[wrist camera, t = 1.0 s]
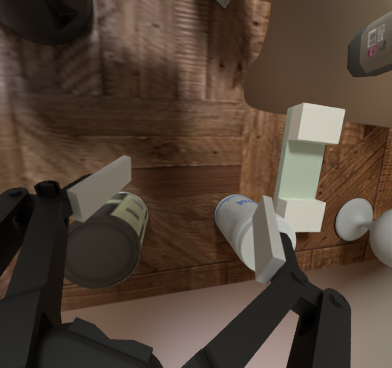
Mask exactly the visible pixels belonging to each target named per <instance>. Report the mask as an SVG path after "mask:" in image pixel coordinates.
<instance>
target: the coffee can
mask: <svg viewBox="0 0 392 368" xmlns="http://www.w3.org/2000/svg"><path fill="white" fill-rule="evenodd" d="M147 222H148V209H147V206H146V204H145V203H144V202H143V200H141V199H140V198H139V197H138V196H136V195H134V194H132V193H129V192H118V193H116V194H115V195H114V196H113V197H112V198H111V199H110V200H109V201H107V202H106V203H105V204H104V205H103V206H102V207H101V208H99V209H98V210H97V211H96V212H95V213H94V214H93V215H91V216H90V217H89V218H88V219H87V220H86V221H85V222H84V223H83V222H80V221H77V220H76V221H74V222H73V223H71V224H70V225H69V230H68V240H67V250H66V260H65V270H64V277H65V278H66V279H67V280H69V281H70V282H72V283H74V284H76V285H78V286H80V287H84V288H89V289H104V288H109V287H112V286H115V285H117V284H119V283H121V282H123V281H124V280H126V279H127V278H128V277H129V276H130V275H131V274H132V273H133V272H134V271H135V269H136V268H137V266H138V264H139V261H140V257H141V247H142V243H143V238H144V234H145V229H146V224H147Z"/></svg>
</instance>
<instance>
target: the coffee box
mask: <svg viewBox="0 0 392 368" xmlns="http://www.w3.org/2000/svg"><path fill="white" fill-rule="evenodd" d="M216 1H217V2H218V3H219V4H220V5H221V6H222V7H223V8H226V6H227V5H228V3H229V2H230V1H231V0H216Z"/></svg>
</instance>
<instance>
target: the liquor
mask: <svg viewBox="0 0 392 368" xmlns="http://www.w3.org/2000/svg"><path fill="white" fill-rule="evenodd" d="M347 69H348V70H349V72H350V73H351V74H352V76H353V77H367V76H377V75H379V74H382V73H385V72H388V71H390V70H392V11H390V12H389V13H387V14H386V15H384V16H382V17H381V18H379V19H378V20H376V21H374V22H373V23H371V24H369V25H368V26H366V27H365V28H363V29H361V30H360V31H359V32H358V33H357V34H356V36H355V37H354V38H353V40H352V41H351V42H350V44H349V45H348V64H347Z"/></svg>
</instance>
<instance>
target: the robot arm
mask: <svg viewBox="0 0 392 368" xmlns="http://www.w3.org/2000/svg"><path fill="white" fill-rule="evenodd" d="M91 10H92V0H0V21H1V22H3V23H4V24H5V25H6V26H7V27H9V28H10V29H11V30H12V31H14V32H15V33H17V34H18V35H20V36H22V37H24V38H26V39H28V40H30V41H33V42H36V43H40V44H46V45H57V44H62V43H66V42H69V41H71V40H73V39H74V38H76V37H77V36H78V35H79V34H80V33H81V32H82V31H83V30H84V29H85V27H86V25H87V23H88V21H89V19H90V15H91ZM130 181H131V157H129V156H125V155H123V156H122V157H120V158H118V159H117V160H115V161H113V162H112V163H110V164H109V165H107V166H105V167H104V168H102V169H100V170H99V171H97V172H96V173H94V174H88V175H85V176H82V177H81V178H79V179H78V180H76V181H74V182H72V183H71V184H69V185H67V186H66V187H64V188H62V189H60V186H59V183H58V182H57V181H51V180H48V181H43V182H40V183H38V184H36V185H35V186H34V188H35V191H36V193H37V195H36V194H29V192H28V190H27V189H26V188H21V187H20V188H12V189H9V190H7V191H5V192H3V193H2V194H1V195H0V277H1V275H2V274H3V272H4V271H5V269H6V268H7V266H8V265H9V264H10V262H11V261H12V259H13V258H14V256H15V255H16V253H17V252H18V250H19V249H20V247H21V246H22V247H21V250H20V253H19V256H18V259H17V262H16V265H15V268H14V271H13V274H12V277H11V280H10V283H9V286H8V289H7V293H6V295H5V297H4V298H3V299H1V300H0V368H163V367H162V365H161V363H160V361H159V360H158V359H157V358H156V357H155V356H154V355H153V354H152V351H153V348H152V347H149V346H147V345H144V344H142V343H139V342H137V341H134V340H115V339H109V338H108V337H107V336H106V335H105V334H104V333H103V332H102V331H101V330H100V329H99V328H98V327H97V326H96V325H94V324H92V323H90V322H87V321H85V320H82V319H80V318H77V317H76V318H75V320H74V321H73V322H72V323H64V324H62V321H61V312H60V310H61V299H62V289H63V280H64V270H65V260H66V250H67V240H68V230H69V221H70V220H69V216H71V215H72V214H73V216H74V220H77V221H80V222H83V223H84V222H85V221H86V220H87V219H88V218H89V217H90V216H91V215H93V214H94V213H95V212H96V211H97V210H98V209H99V208H101V207H102V206H103V205H104V204H105V203H106V202H107V201H109V200H110V199H111V198H112V197H113V196H114V195H115V194H116V193H118V192H119V191H120V190H121V189H122V188H123V187H124V186H126V185H127V184H128V183H129V182H130ZM252 223H253V241H254V259H255V276H256V281H257V282H260V283H263V284H266V285H267V284H268V283H269V282H270V281H271V284H270V285H269V286H268V287H267V288H266V289H265V290H264V291H263V292H262V293H261V294H260V295H258V296H257V297H256V298H255V299H254V300H253V301H252V302H251V303H250V304H249V305H248V306H247V307H246V308H245V309H244V310H243V311H242V312H241V313H240V314H239V315H238V316H237V317H236V318H234V319H233V320H232V321H231V322H230V323H229V324H228V325H227V326H226V327H225V328H224V329H223V330H222V331H221V332H220V333H219V334H218V335H217V336H216V337H215V338H214V339H213V340H211V341H210V342H209V343H208V344H207V345H206V346H205V347H204V348H203V349H201V350H200V351H198V352H197V353H196V354H195V355H194V356H193V357H192V358H191V359H190V360H189V361H188V362H187V363H186V364H185V365H183V366H182V367H181V368H244V367H245V366H246V364H247V363H248V362H249V361H250V359H251V358H252V357H253V356H254V354H255V353H256V352H257V351H258V349H259V348H260V347H261V345H262V344H263V343H264V342H265V340H266V339H267V338H268V337H269V335H270V334H271V333H272V332H273V330H274V329H275V328H276V327H277V325H278V324H279V323H280V322H281V320H282V319H283V318H284V317H285V315H286V314H287V313H288V311H289V310H290V309H291V310H292V311H294V312H295V313H297V314H298V315H299V320H298V323H297V327H296V332H295V335H294V339H293V343H292V347H291V351H290V355H289V359H288V363H287V367H286V368H350V360H351V359H350V357H351V352H350V351H351V308H350V305H349V303H348V301H347V300H346V299H345V298H344V296H343V295H341V294H340V293H339V292H338V291H336V290H334V289H330V288H327V289H325V290H324V291H323V290H321V289H320V288H318V287H316V286H315V285H313V284H312V283H310V282H309V280H308V278H307V276H306V275H305V274H304V273H303V271H301V270H300V269H299V266H298V262H297V259H296V255H295V252H294V249H293V247H292V246H293V245H292V242H291V239H290V238H289V236H288V235H287V234H286V233H283V232H280V231H279V229H278V224H277V220H276V215H275V211H274V207H273V202H272V198H271V197H268V196H264V195H263V196H262V198H261V200H260V202H259V204H258V206H257V208H256V210H255V212H254V214H253V216H252Z"/></svg>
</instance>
